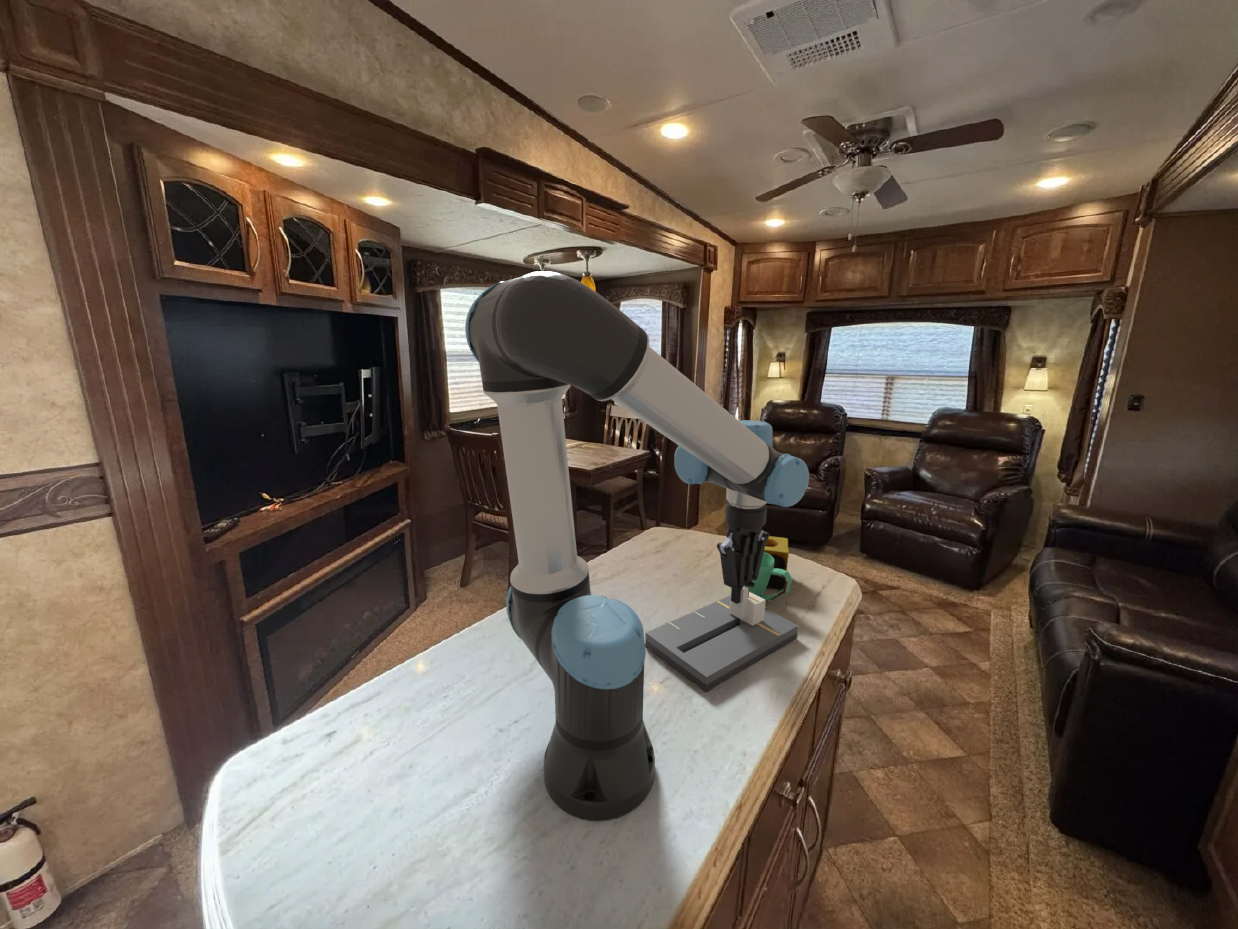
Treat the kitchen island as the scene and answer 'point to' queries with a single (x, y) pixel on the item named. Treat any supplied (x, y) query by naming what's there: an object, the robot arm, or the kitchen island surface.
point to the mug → (764, 576)
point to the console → (717, 643)
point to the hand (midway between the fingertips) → (738, 615)
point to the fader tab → (753, 609)
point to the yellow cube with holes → (777, 560)
